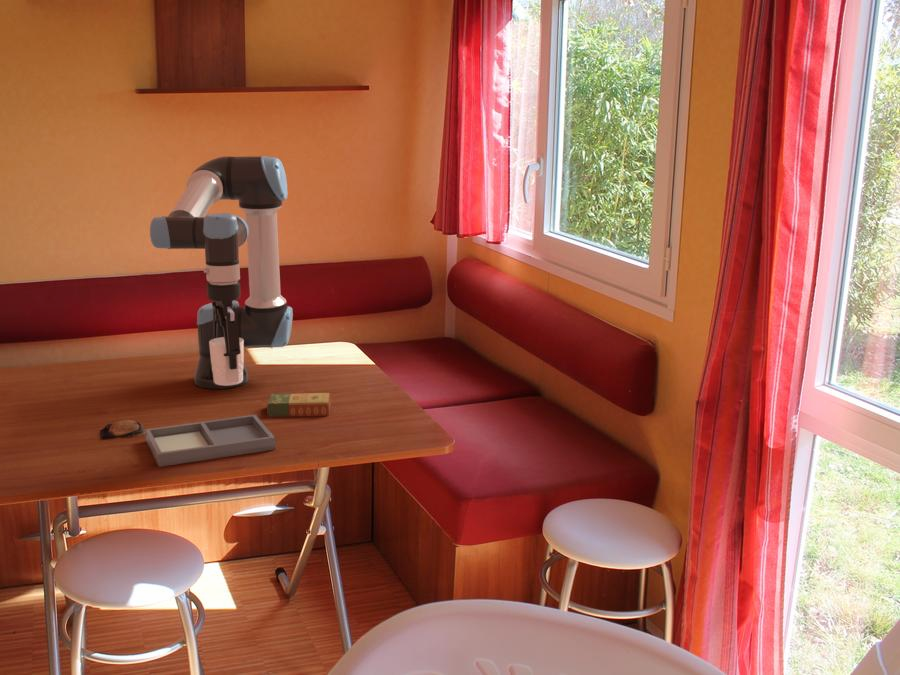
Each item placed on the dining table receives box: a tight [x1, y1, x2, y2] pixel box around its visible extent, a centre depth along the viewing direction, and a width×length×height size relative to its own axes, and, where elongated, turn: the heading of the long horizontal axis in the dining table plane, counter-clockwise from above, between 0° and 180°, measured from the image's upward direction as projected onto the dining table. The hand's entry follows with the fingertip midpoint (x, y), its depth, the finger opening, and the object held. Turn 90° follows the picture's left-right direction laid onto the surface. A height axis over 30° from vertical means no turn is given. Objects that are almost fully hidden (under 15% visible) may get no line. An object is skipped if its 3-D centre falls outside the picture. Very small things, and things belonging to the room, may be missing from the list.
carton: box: [266, 392, 332, 418], centre depth 261 cm, size 8×16×4 cm, turn 94°
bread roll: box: [99, 419, 146, 441], centre depth 244 cm, size 11×8×4 cm
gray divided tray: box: [144, 414, 276, 468], centre depth 236 cm, size 18×27×3 cm, turn 115°
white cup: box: [209, 337, 245, 386], centre depth 232 cm, size 8×8×10 cm
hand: (228, 376), depth 233 cm, fingers closed on white cup, 8 cm apart
